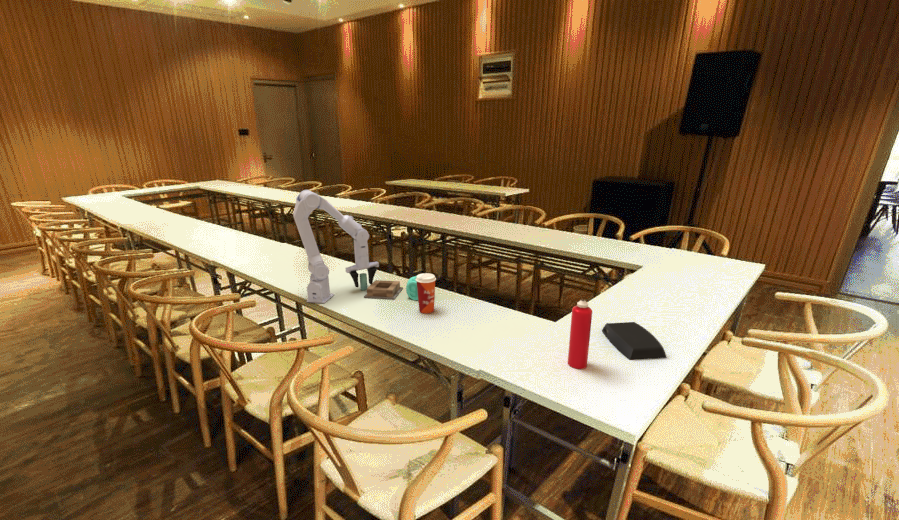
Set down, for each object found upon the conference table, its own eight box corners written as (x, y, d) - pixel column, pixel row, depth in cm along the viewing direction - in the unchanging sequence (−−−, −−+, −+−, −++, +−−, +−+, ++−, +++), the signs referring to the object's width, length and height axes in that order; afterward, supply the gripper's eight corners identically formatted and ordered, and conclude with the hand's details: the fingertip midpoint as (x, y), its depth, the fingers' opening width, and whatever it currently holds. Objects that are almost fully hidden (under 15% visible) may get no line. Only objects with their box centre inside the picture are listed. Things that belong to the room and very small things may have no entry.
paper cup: (427, 316, 155) (426, 280, 151) (412, 311, 159) (411, 276, 155) (441, 309, 161) (440, 275, 156) (425, 304, 165) (424, 271, 161)
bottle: (565, 365, 121) (570, 301, 116) (571, 357, 126) (576, 295, 120) (583, 371, 119) (590, 305, 113) (589, 362, 123) (595, 299, 117)
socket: (394, 299, 170) (393, 291, 169) (363, 298, 173) (363, 289, 171) (402, 288, 183) (402, 280, 182) (374, 286, 185) (374, 279, 184)
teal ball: (432, 295, 175) (432, 277, 173) (423, 302, 168) (422, 283, 166) (415, 292, 178) (415, 274, 176) (406, 299, 171) (405, 280, 169)
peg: (366, 290, 180) (365, 275, 178) (359, 290, 181) (358, 275, 179) (368, 288, 183) (367, 273, 181) (362, 288, 184) (360, 272, 182)
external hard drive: (636, 330, 144) (637, 319, 142) (668, 359, 125) (670, 347, 124) (599, 332, 143) (600, 321, 141) (626, 361, 124) (628, 349, 123)
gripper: (373, 250, 185) (375, 279, 189) (341, 256, 177) (344, 286, 181) (380, 253, 179) (382, 283, 183) (348, 259, 171) (350, 290, 175)
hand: (363, 285), depth 181 cm, fingers open, 6 cm apart
